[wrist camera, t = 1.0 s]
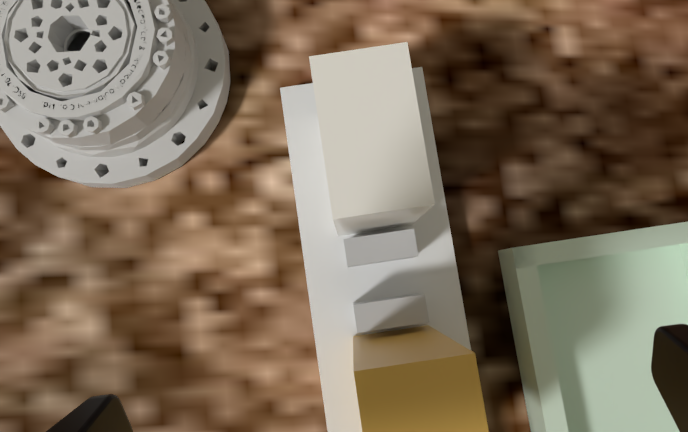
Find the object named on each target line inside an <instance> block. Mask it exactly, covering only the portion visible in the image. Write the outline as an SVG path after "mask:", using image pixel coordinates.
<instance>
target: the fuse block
mask: <svg viewBox="0 0 688 432" xmlns="http://www.w3.org/2000/svg"><path fill="white" fill-rule="evenodd" d="M412 73H413V78H414V84H415V90H416V96H417V102H418V108H419V114H420V119H421V125H422V131H423V137H424V143H425V149H426V155H427V160H428V166H429V172H430V178H431V184H432V190H433V196H434V201H435V205H434V206H432V207H431V208H430V209H429V210H428V211H427V212H426V213H425V214H424V215H423V216H421V217H420V218H419V219H418V220H417V221H416V222H415V223H414V224H413V225H410V226H403V227H397V228H390V229H383V230H377V231H370V232H363V233H356V234H350V235H343V236H338V234H337V231H336V228H335V225H334V221H333V217H332V210H331V203H330V197H329V190H328V183H327V176H326V169H325V162H324V156H323V149H322V142H321V135H320V128H319V122H318V115H317V108H316V101H315V94H314V87H313V83H310V84H303V85H296V86H289V87H283V88H280V91H281V99H282V106H283V113H284V120H285V127H286V135H287V142H288V149H289V156H290V163H291V171H292V178H293V185H294V192H295V199H296V207H297V214H298V221H299V228H300V236H301V243H302V250H303V257H304V264H305V272H306V279H307V286H308V293H309V300H310V308H311V315H312V322H313V329H314V337H315V344H316V351H317V358H318V365H319V373H320V380H321V387H322V394H323V401H324V409H325V416H326V423H327V430H328V432H362V426H361V419H360V412H359V405H358V398H357V392H356V385H355V378H354V369H353V336H359V335H366V334H373V333H379V332H386V331H393V330H399V329H406V328H413V327H419V326H426V325H429V326H431V327H432V328H434V329H436V330H437V331H439V332H441V333H442V334H444V335H446V336H447V337H449V338H451V339H452V340H454V341H456V342H457V343H459V344H461V345H462V346H464V347H466V348H467V349H469V350H471V346H470V340H469V334H468V329H467V323H466V317H465V311H464V305H463V300H462V294H461V288H460V282H459V277H458V271H457V265H456V259H455V254H454V248H453V242H452V236H451V230H450V225H449V219H448V213H447V207H446V202H445V196H444V190H443V184H442V178H441V173H440V167H439V161H438V155H437V150H436V144H435V138H434V132H433V127H432V121H431V115H430V109H429V103H428V98H427V92H426V86H425V80H424V75H423V69H422V67H418V68H412Z"/></svg>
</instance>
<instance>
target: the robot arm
mask: <svg viewBox="0 0 688 432" xmlns="http://www.w3.org/2000/svg"><path fill="white" fill-rule="evenodd" d="M651 372H652V377H653V380H654V382H655V384H656V386H657V388H658V390H659V392H660V394H661V396H662V398H663V400H664V402H665V404H666V406H667V408H668V410H669V412H670V414H671V416H672V418H673V420H674V421H675V423H676V425H677V427H678V429H679V431H680V432H688V325H686V324H675V325H667V326H660V327H658V328H657V329H656V331H655V333H654V340H653V351H652V361H651ZM46 432H133V430H132V427H131V424H130V422H129V420H128V417H127V415H126V413H125V411H124V408H123V406H122V404H121V401H120V400H119V398H118V397H117V396H116V395H113V394H108V395H100V396H94V397H91V398H89V399H87V400H86V401H85V402H83V403H82V404H81V405H80V406H78V407H77V408H76V409H74V410H73V411H72V412H71V413H69V414H68V415H67V416H65V417H64V418H63V419H62V420H60V421H59V422H58V423H57V424H55V425H54V426H53V427H51V428H50V429H49V430H48V431H46Z"/></svg>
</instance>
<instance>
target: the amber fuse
mask: <svg viewBox="0 0 688 432" xmlns="http://www.w3.org/2000/svg"><path fill="white" fill-rule="evenodd" d="M353 369H354V378H355V385H356V392H357V398H358V405H359V412H360V419H361V426H362V432H489V430H488V424H487V419H486V413H485V407H484V401H483V396H482V390H481V384H480V378H479V373H478V367H477V361H476V355H475V353H474V352H472V351H471V350H469V349H467V348H466V347H464V346H462V345H461V344H459V343H457V342H456V341H454V340H452V339H451V338H449V337H447V336H446V335H444V334H442V333H441V332H439V331H437V330H436V329H434V328H432V327H431V326H429V325H426V326H419V327H413V328H406V329H399V330H393V331H386V332H379V333H373V334H366V335H359V336H353Z"/></svg>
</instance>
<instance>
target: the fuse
mask: <svg viewBox="0 0 688 432" xmlns="http://www.w3.org/2000/svg"><path fill="white" fill-rule="evenodd" d="M309 60H310V67H311V74H312V81H313V87H314V94H315V101H316V108H317V115H318V122H319V128H320V135H321V142H322V149H323V156H324V162H325V169H326V176H327V183H328V190H329V197H330V203H331V210H332V217H333V221H334V225H335V228H336V231H337V234H338V236H343V235H350V234H356V233H363V232H370V231H377V230H383V229H390V228H397V227H403V226H410V225H413V224H414V223H415V222H416V221H417V220H418V219H419V218H420V217H421V216H423V215H424V214H425V213H426V212H427V211H428V210H429V209H430V208H431V207H432V206H434V205H435V201H434V196H433V190H432V184H431V178H430V172H429V166H428V160H427V155H426V149H425V143H424V137H423V131H422V125H421V119H420V114H419V108H418V102H417V96H416V90H415V84H414V78H413V73H412V67H411V61H410V55H409V49H408V43H407V42H404V43H397V44H391V45H384V46H377V47H370V48H364V49H357V50H350V51H343V52H337V53H330V54H323V55H316V56H310V57H309Z"/></svg>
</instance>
